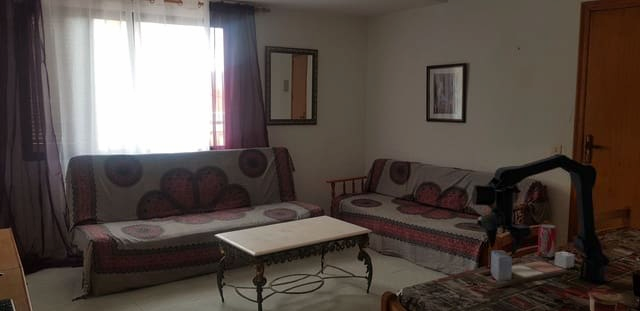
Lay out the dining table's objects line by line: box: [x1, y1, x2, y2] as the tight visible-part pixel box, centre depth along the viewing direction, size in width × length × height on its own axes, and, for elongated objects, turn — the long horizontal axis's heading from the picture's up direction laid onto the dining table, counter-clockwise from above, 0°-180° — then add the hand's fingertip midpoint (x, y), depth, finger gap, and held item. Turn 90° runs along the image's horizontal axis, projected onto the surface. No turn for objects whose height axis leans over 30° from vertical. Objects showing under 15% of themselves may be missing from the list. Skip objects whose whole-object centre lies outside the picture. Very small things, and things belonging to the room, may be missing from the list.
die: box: [554, 250, 575, 269], centre depth 178 cm, size 4×4×5 cm
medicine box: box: [490, 250, 513, 282], centre depth 164 cm, size 8×4×9 cm, turn 179°
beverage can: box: [537, 223, 558, 258], centre depth 189 cm, size 6×6×12 cm
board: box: [470, 260, 569, 289], centre depth 169 cm, size 12×33×1 cm, turn 116°
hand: (502, 250), depth 164 cm, fingers open, 9 cm apart
